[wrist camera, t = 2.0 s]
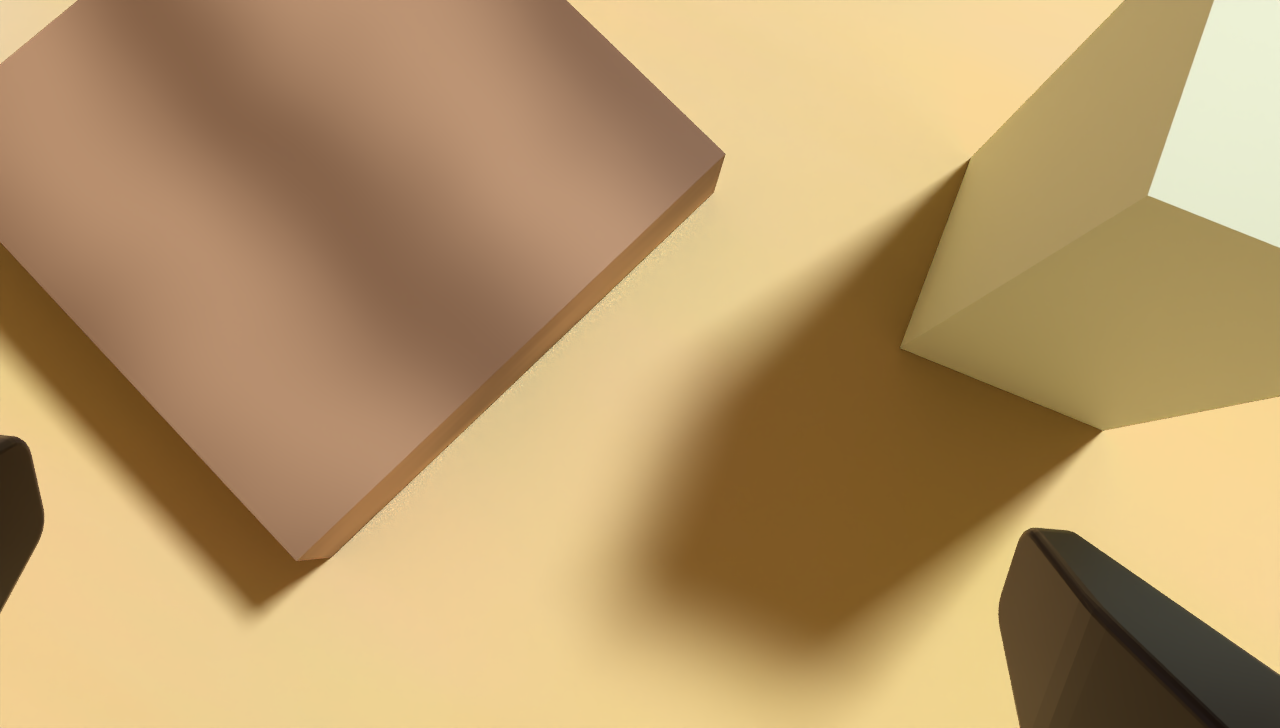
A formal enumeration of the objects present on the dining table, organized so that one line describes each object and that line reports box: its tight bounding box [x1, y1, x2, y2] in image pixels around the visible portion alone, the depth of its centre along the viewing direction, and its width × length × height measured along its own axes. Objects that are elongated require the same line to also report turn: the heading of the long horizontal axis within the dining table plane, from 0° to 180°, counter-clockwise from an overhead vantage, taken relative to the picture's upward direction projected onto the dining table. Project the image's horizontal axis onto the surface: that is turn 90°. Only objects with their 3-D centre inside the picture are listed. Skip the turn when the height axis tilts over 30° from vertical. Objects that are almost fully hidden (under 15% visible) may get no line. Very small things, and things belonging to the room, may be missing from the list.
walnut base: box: [0, 0, 725, 561], centre depth 22 cm, size 12×12×2 cm
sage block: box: [900, 0, 1280, 431], centre depth 18 cm, size 5×5×11 cm
